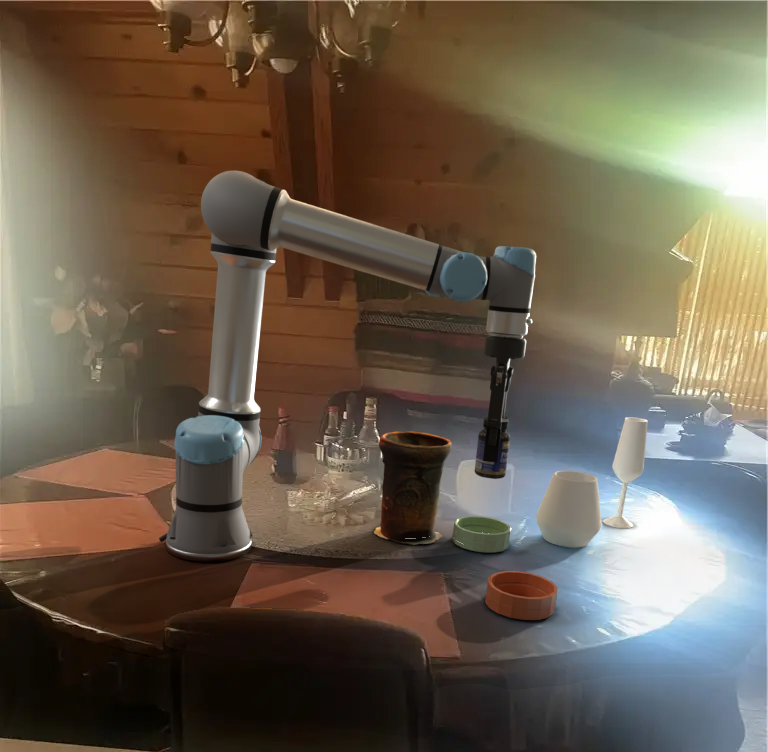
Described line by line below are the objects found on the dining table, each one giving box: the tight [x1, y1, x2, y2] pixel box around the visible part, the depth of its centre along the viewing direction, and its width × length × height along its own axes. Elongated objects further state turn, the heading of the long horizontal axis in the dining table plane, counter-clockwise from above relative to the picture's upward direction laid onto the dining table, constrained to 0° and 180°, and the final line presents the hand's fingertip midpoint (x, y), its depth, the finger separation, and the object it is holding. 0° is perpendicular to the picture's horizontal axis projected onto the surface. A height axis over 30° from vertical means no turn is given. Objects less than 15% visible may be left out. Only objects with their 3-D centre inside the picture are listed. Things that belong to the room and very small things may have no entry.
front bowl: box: [484, 570, 558, 621], centre depth 124 cm, size 11×11×4 cm
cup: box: [535, 469, 603, 548], centre depth 156 cm, size 13×13×14 cm
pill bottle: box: [474, 416, 511, 480], centre depth 146 cm, size 6×6×11 cm
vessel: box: [373, 431, 453, 546], centre depth 152 cm, size 14×14×20 cm
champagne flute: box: [602, 416, 649, 529], centre depth 169 cm, size 7×7×24 cm
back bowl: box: [452, 515, 512, 553], centre depth 152 cm, size 11×11×4 cm
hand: (491, 457), depth 146 cm, fingers closed on pill bottle, 6 cm apart
